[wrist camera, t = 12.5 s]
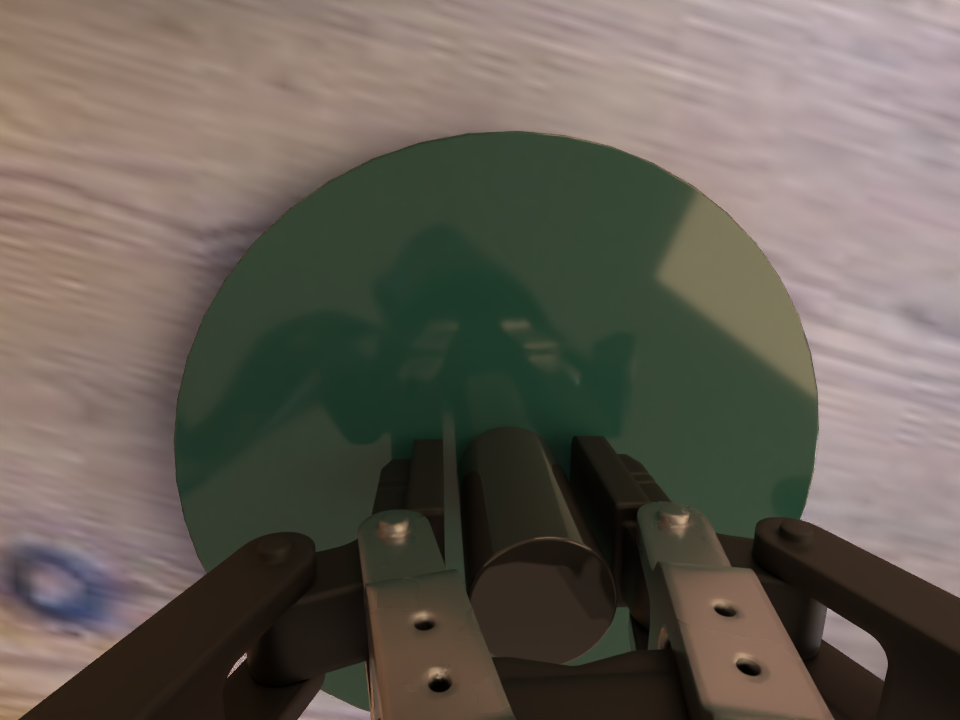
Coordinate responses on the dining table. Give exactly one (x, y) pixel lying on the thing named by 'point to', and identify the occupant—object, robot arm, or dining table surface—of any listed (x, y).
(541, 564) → the lid
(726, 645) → the robot arm
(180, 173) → the dining table surface
